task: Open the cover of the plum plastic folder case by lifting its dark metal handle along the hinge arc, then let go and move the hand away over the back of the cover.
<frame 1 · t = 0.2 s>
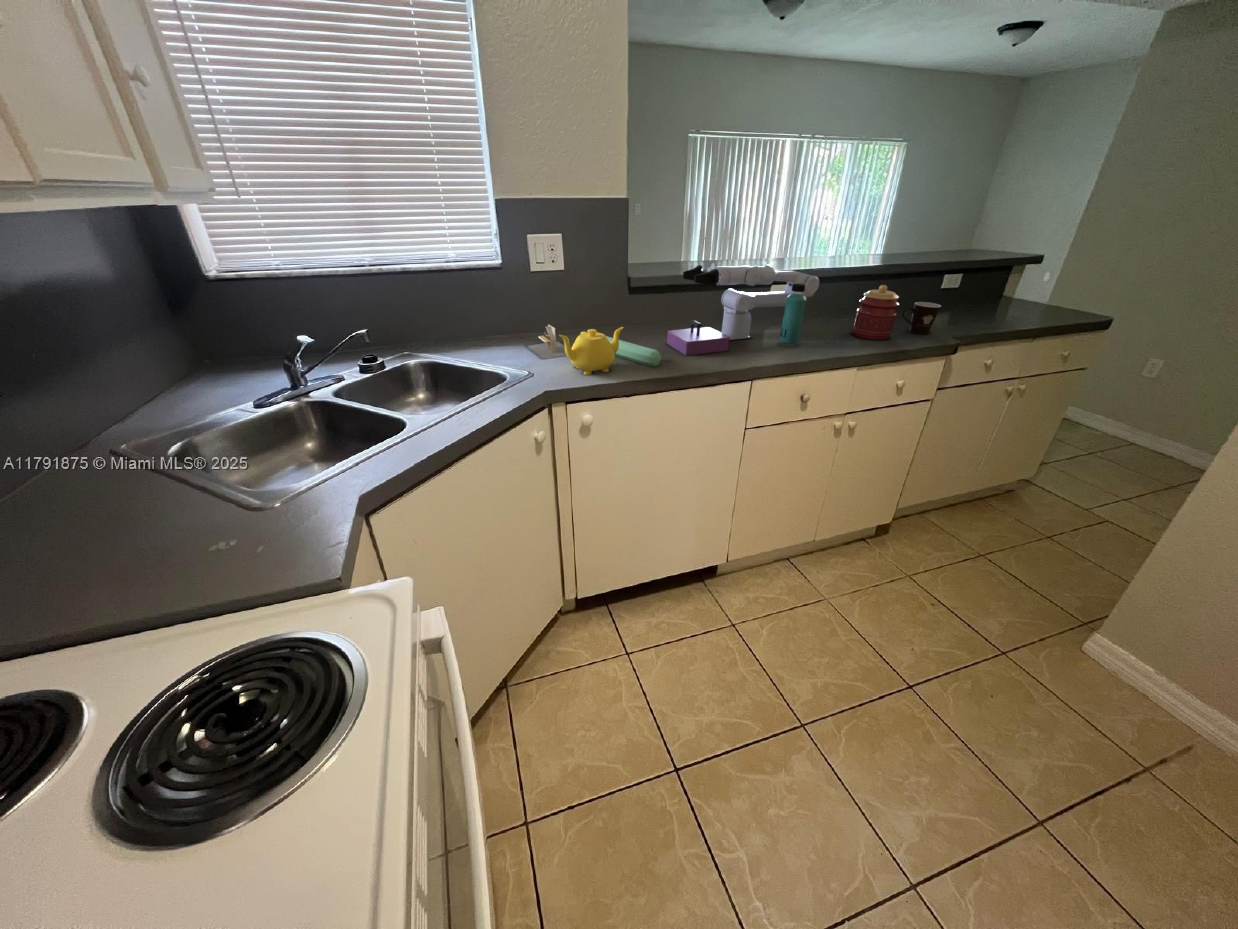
hand: (689, 276, 157), 21 cm above the worktop, tool horizontal, fingers open, 7 cm apart
kitchen canister: (869, 335, 178), on the worktop
beverage bottle: (787, 345, 166), on the worktop
coffee mug: (914, 331, 184), on the worktop
folder case: (696, 347, 163), on the worktop
architectural model: (550, 350, 158), on the worktop
folder cover: (699, 328, 160), point 6 cm above the worktop, hinge at 0.0°
teapot: (591, 368, 144), on the worktop
container: (625, 358, 152), on the worktop
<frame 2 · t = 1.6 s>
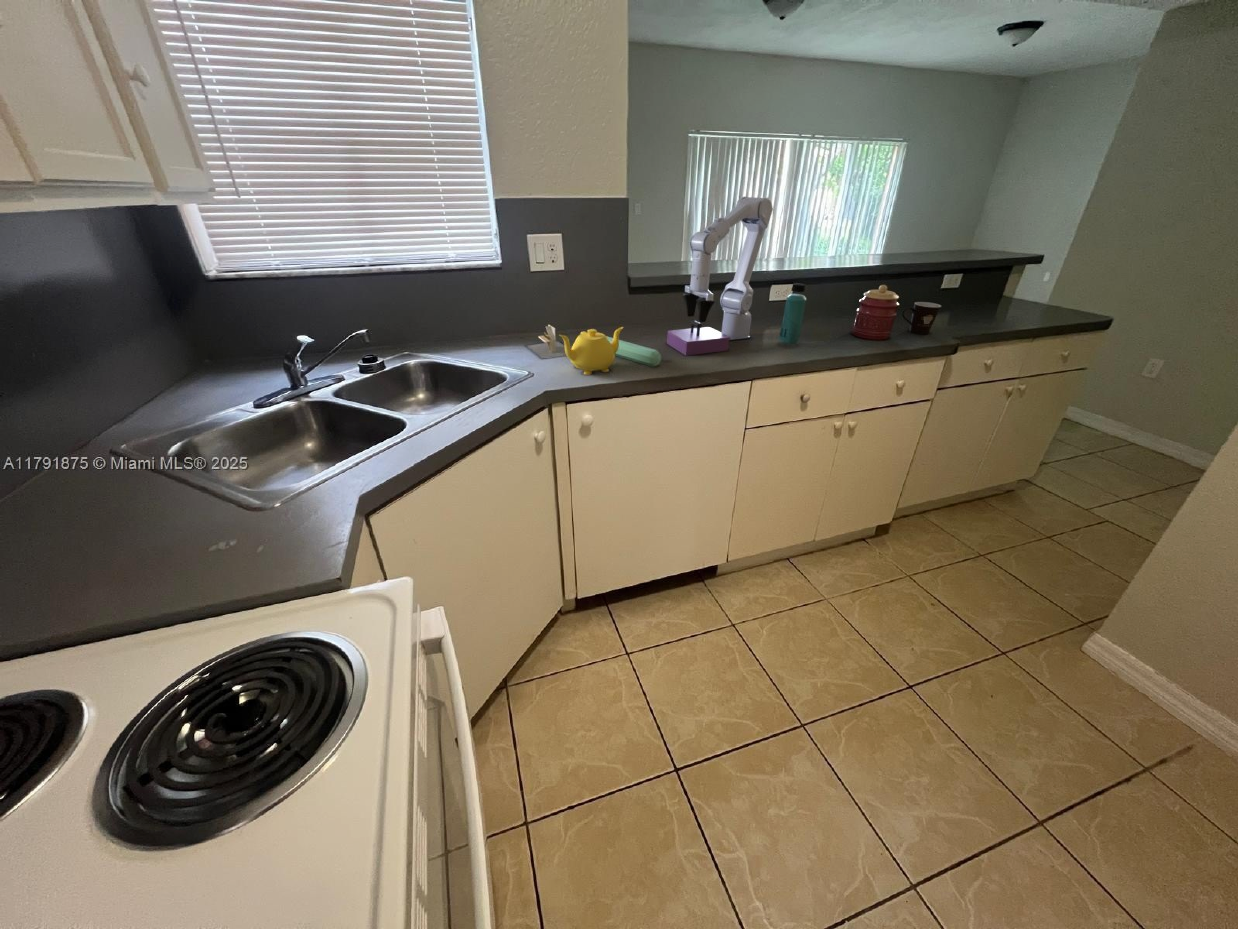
hand: (696, 319, 158), 9 cm above the worktop, tool pointing down, fingers open, 7 cm apart
nothing on the worktop moved.
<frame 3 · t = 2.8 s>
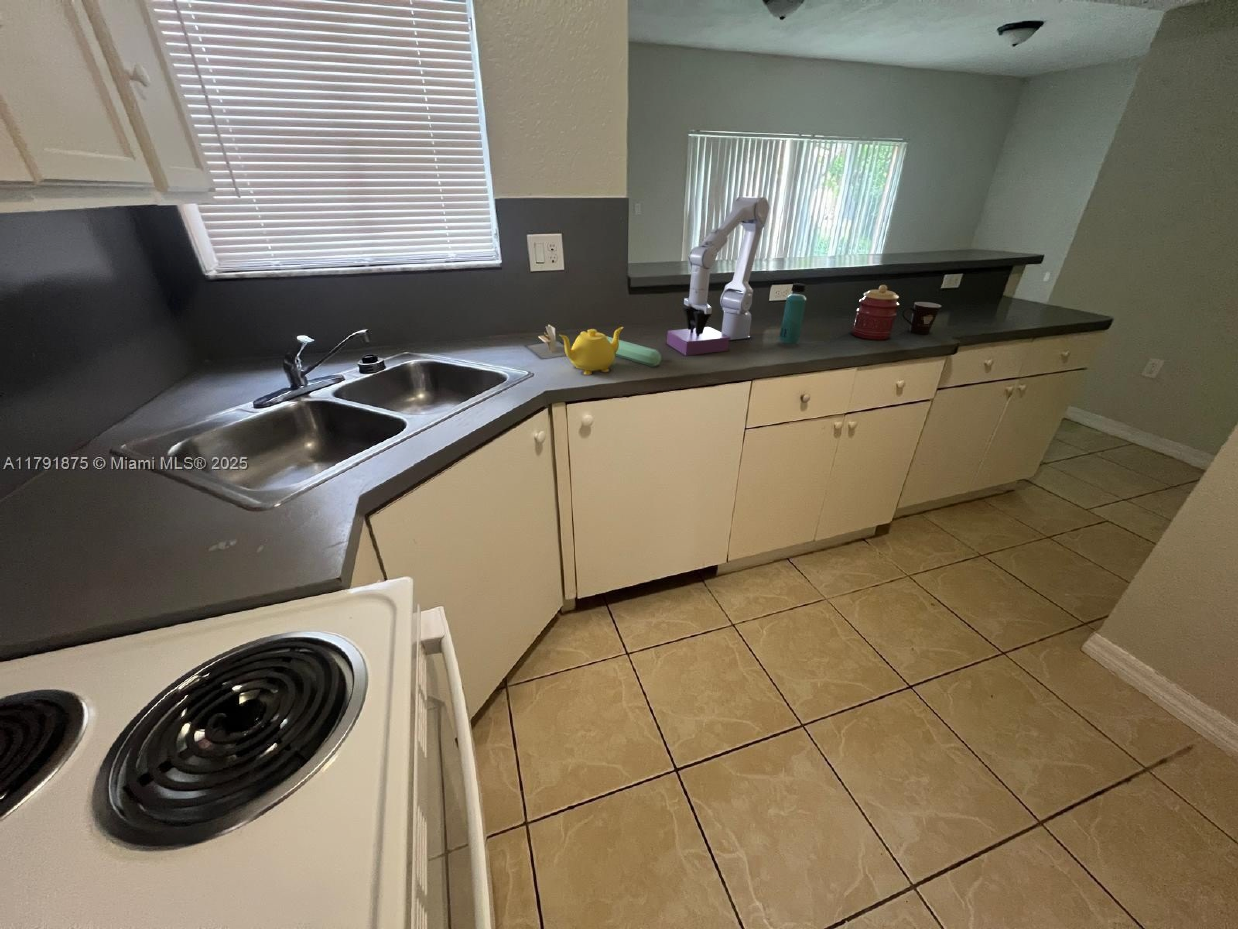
hand: (695, 331, 160), 5 cm above the worktop, tool pointing down, fingers closed on folder cover, 5 cm apart
folder cover: (699, 328, 160), point 6 cm above the worktop, hinge at 0.0°, touching gripper
everything else where it was.
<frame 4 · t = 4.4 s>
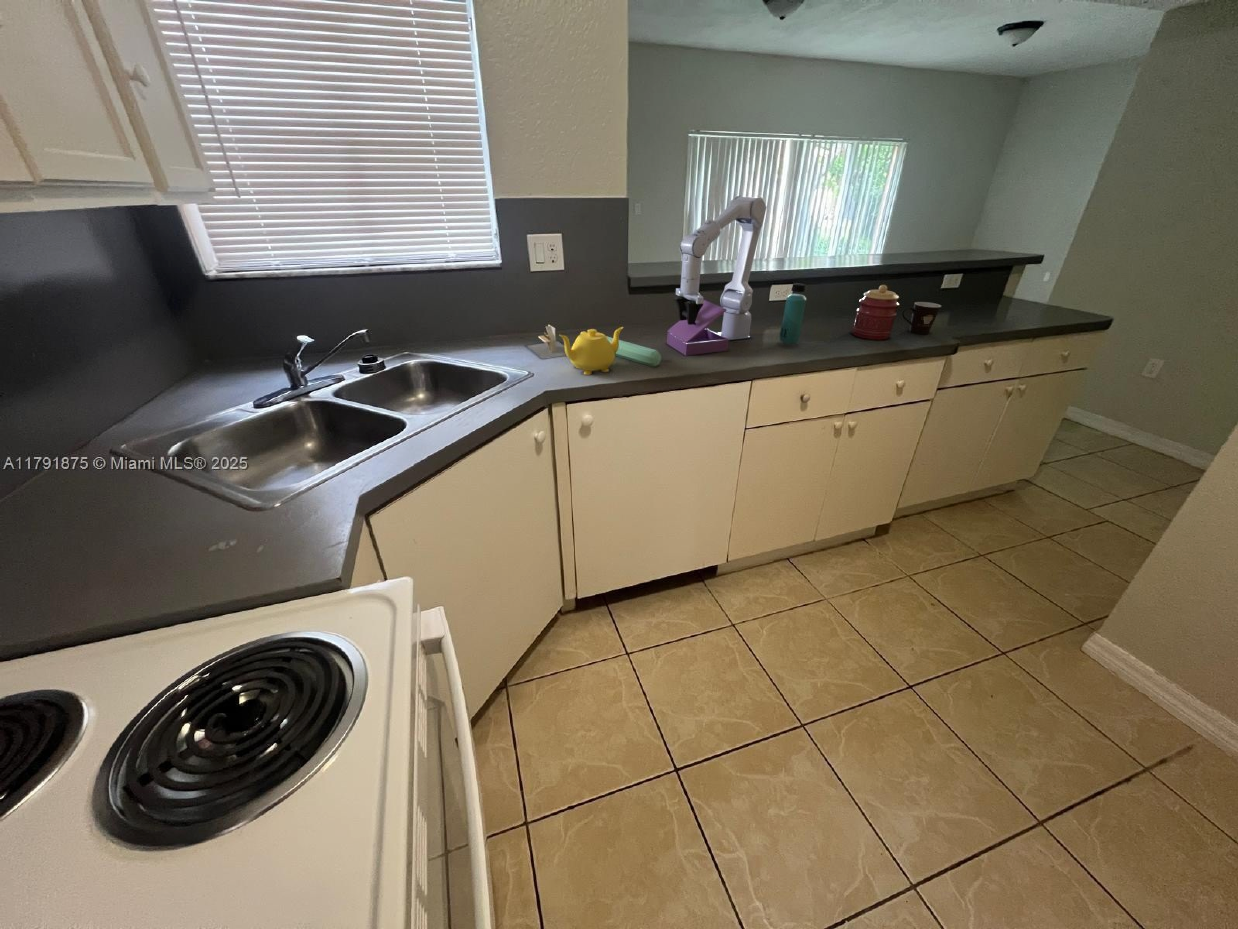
hand: (686, 322, 157), 9 cm above the worktop, tool pointing down, fingers closed on folder cover, 5 cm apart
folder cover: (693, 315, 157), point 11 cm above the worktop, hinge at 35.2°, touching gripper
everything else where it was.
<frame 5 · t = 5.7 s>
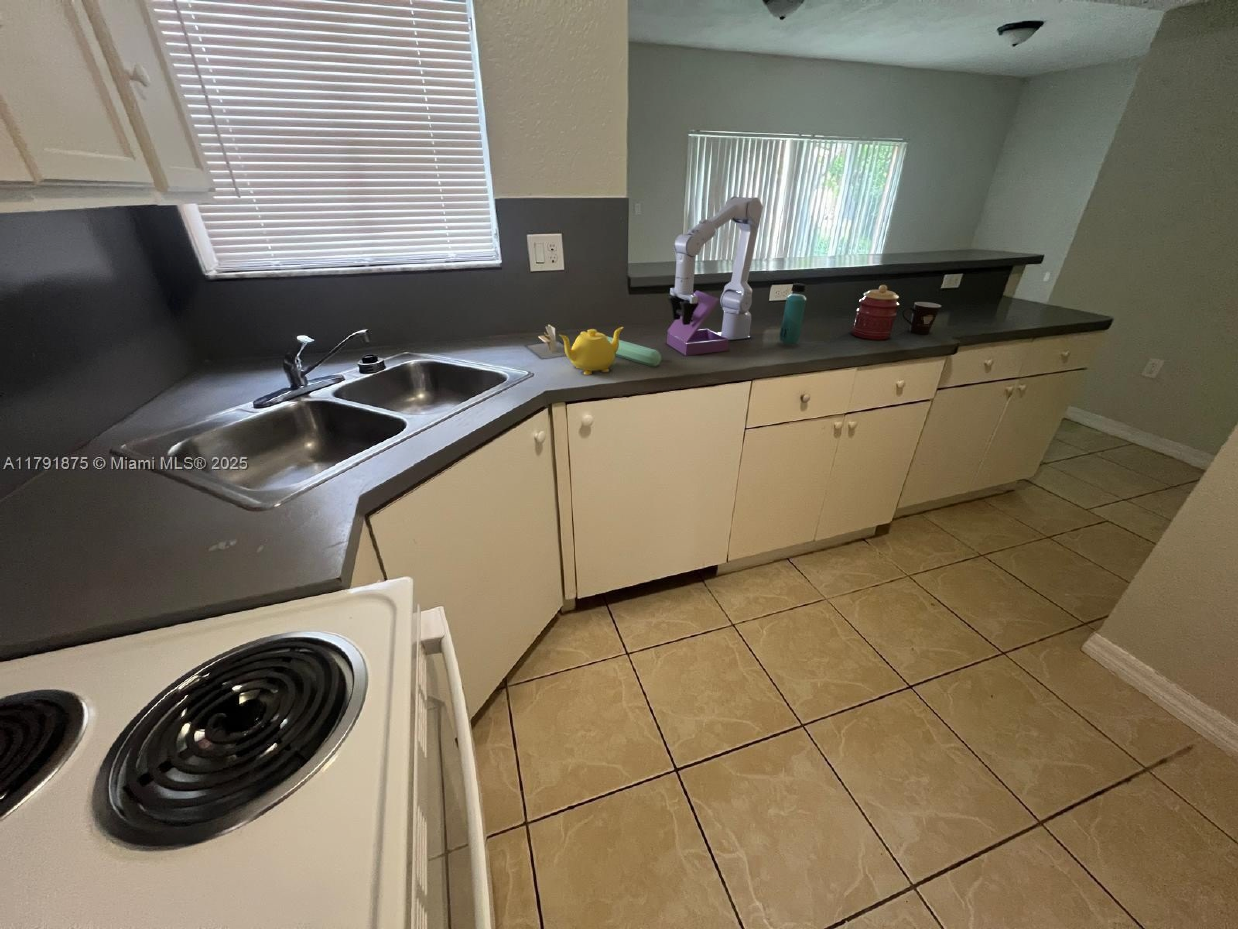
hand: (681, 321, 156), 9 cm above the worktop, tool pointing down, fingers open, 6 cm apart
folder cover: (688, 312, 155), point 12 cm above the worktop, hinge at 51.7°
everything else where it was.
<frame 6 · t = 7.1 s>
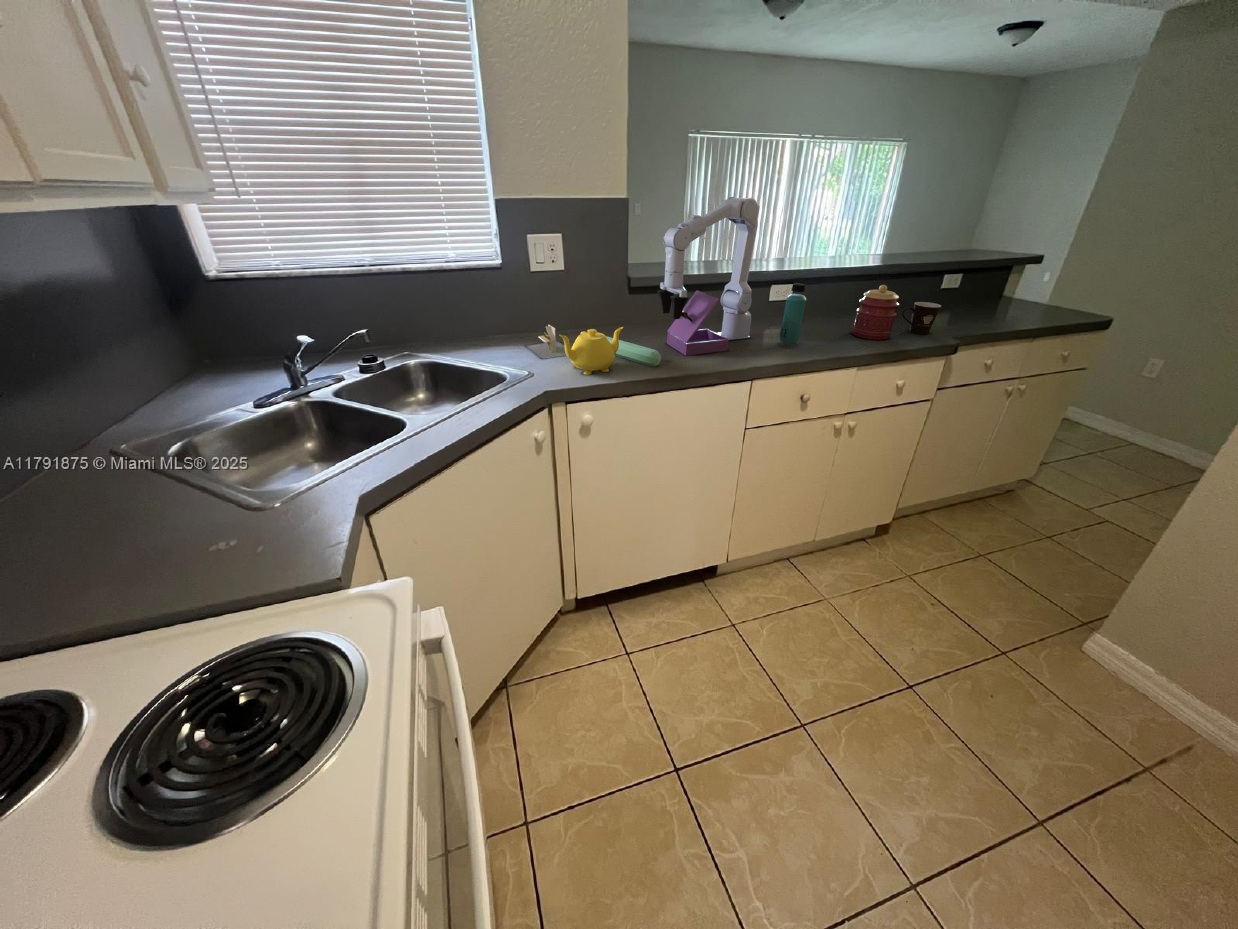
hand: (671, 315, 157), 10 cm above the worktop, tool pointing down, fingers open, 7 cm apart
nothing on the worktop moved.
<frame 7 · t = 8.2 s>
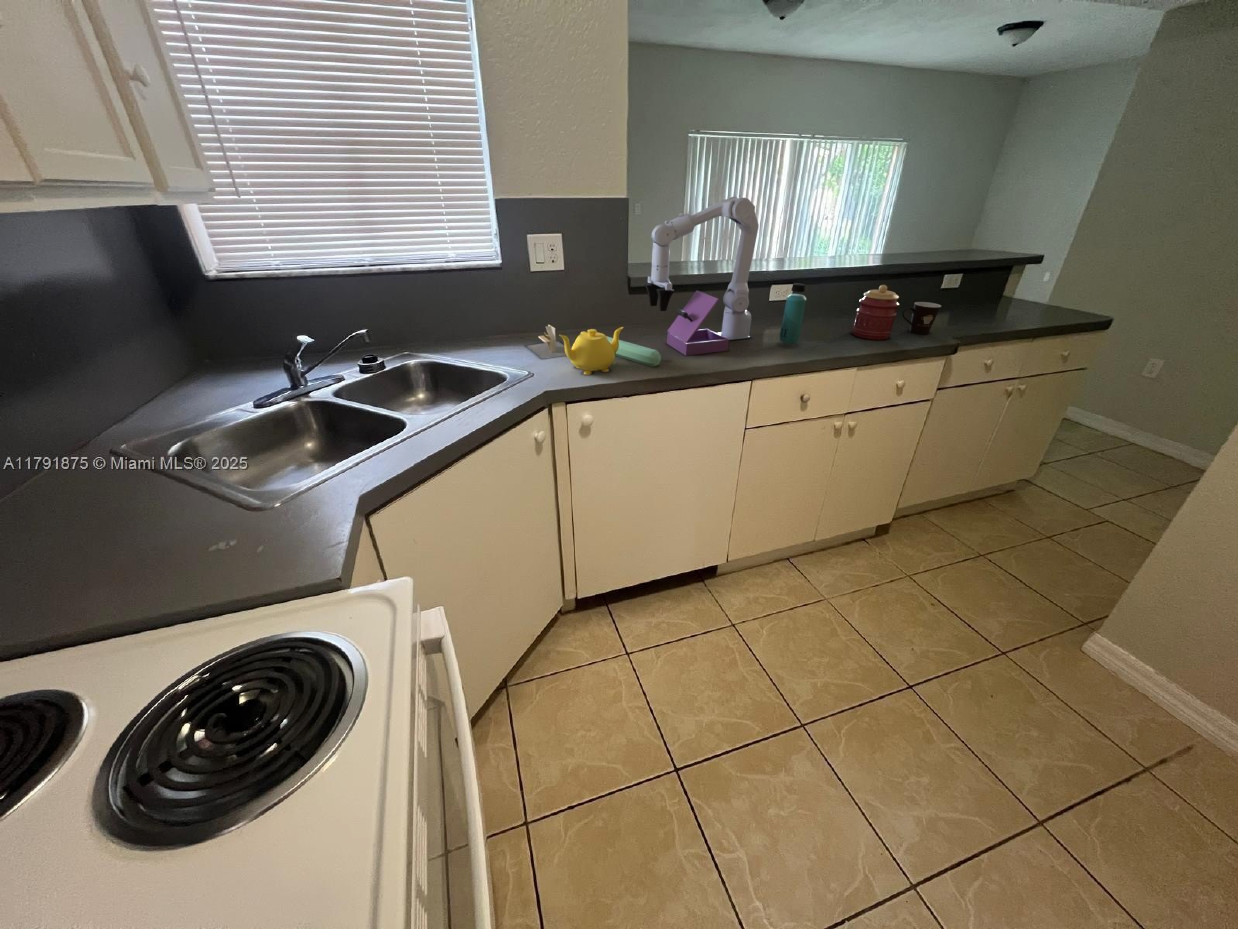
hand: (658, 308, 166), 10 cm above the worktop, tool pointing down, fingers open, 7 cm apart
nothing on the worktop moved.
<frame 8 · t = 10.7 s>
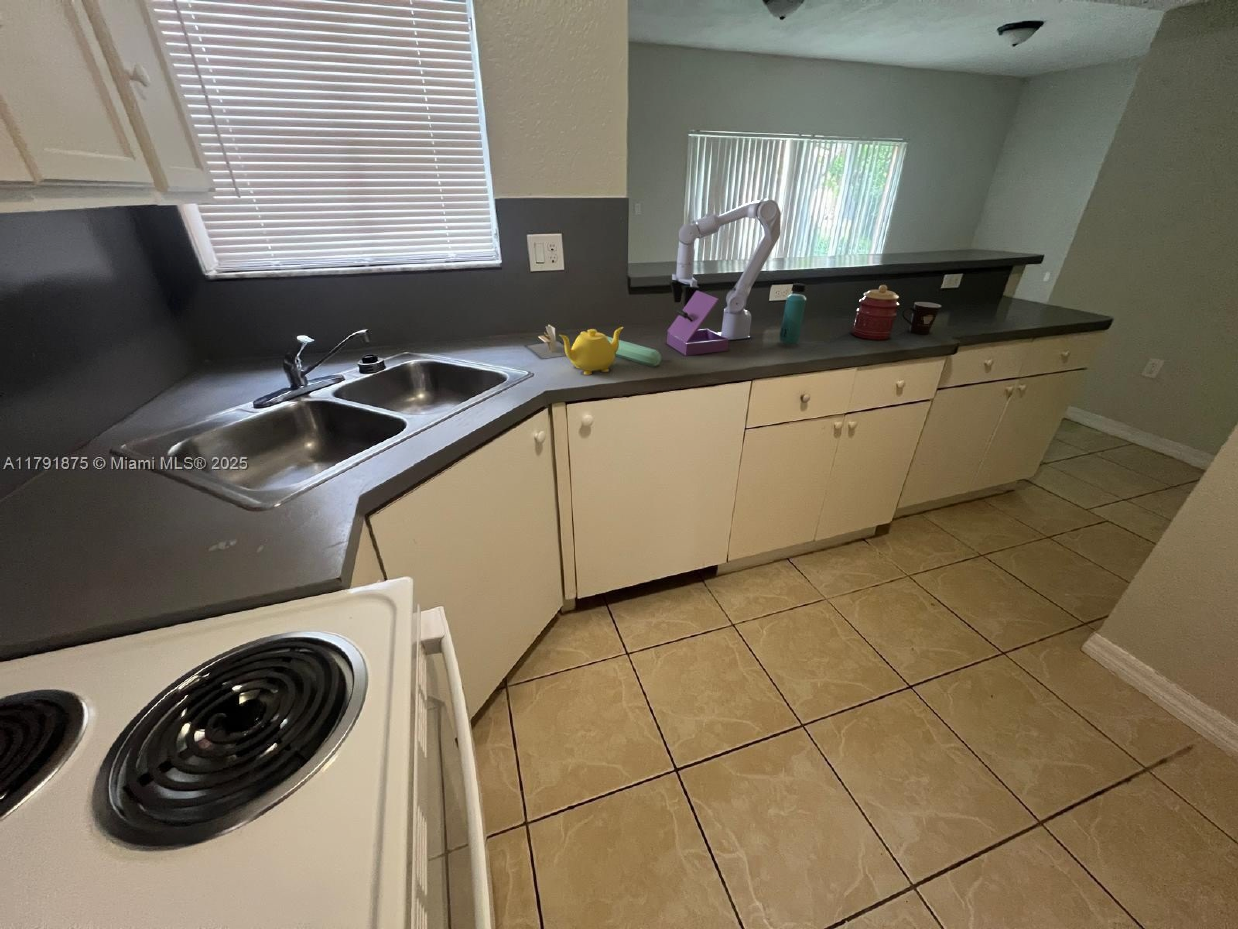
hand: (682, 304, 171), 10 cm above the worktop, tool pointing down, fingers open, 7 cm apart
nothing on the worktop moved.
at the end: folder cover at +52° (first picture: +0°); folder cover reached +53° during the clip, +52° at the end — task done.
